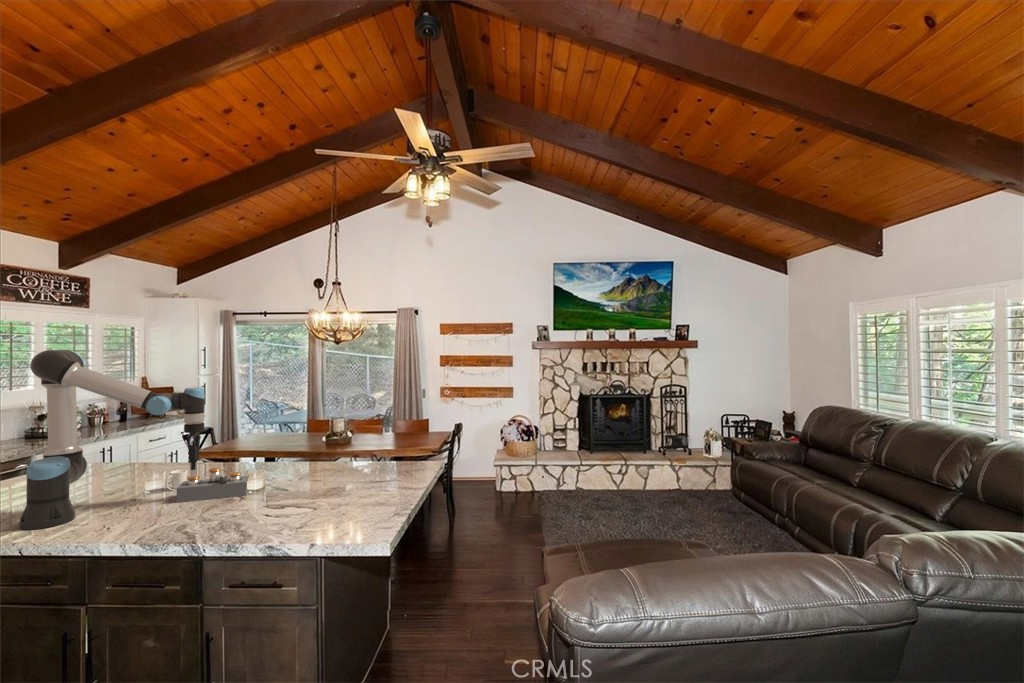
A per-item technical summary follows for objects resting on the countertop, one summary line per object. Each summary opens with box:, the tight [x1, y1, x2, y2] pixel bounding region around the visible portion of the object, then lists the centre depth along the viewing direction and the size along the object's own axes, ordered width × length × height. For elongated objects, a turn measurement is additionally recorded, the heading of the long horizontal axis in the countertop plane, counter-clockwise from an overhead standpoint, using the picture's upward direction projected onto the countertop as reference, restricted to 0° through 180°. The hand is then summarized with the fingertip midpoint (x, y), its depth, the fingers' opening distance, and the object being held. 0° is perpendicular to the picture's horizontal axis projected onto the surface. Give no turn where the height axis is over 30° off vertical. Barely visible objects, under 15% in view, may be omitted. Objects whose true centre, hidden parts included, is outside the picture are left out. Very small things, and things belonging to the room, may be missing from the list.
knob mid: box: [208, 467, 222, 484], centre depth 215 cm, size 5×5×7 cm
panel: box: [176, 475, 250, 503], centre depth 215 cm, size 26×12×6 cm, turn 113°
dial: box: [220, 475, 228, 484], centre depth 212 cm, size 3×3×3 cm
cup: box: [164, 469, 189, 491], centre depth 223 cm, size 7×10×8 cm
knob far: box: [229, 471, 242, 482], centre depth 218 cm, size 5×5×7 cm
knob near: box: [186, 475, 201, 485], centre depth 211 cm, size 5×5×7 cm
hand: (193, 476), depth 212 cm, fingers closed
